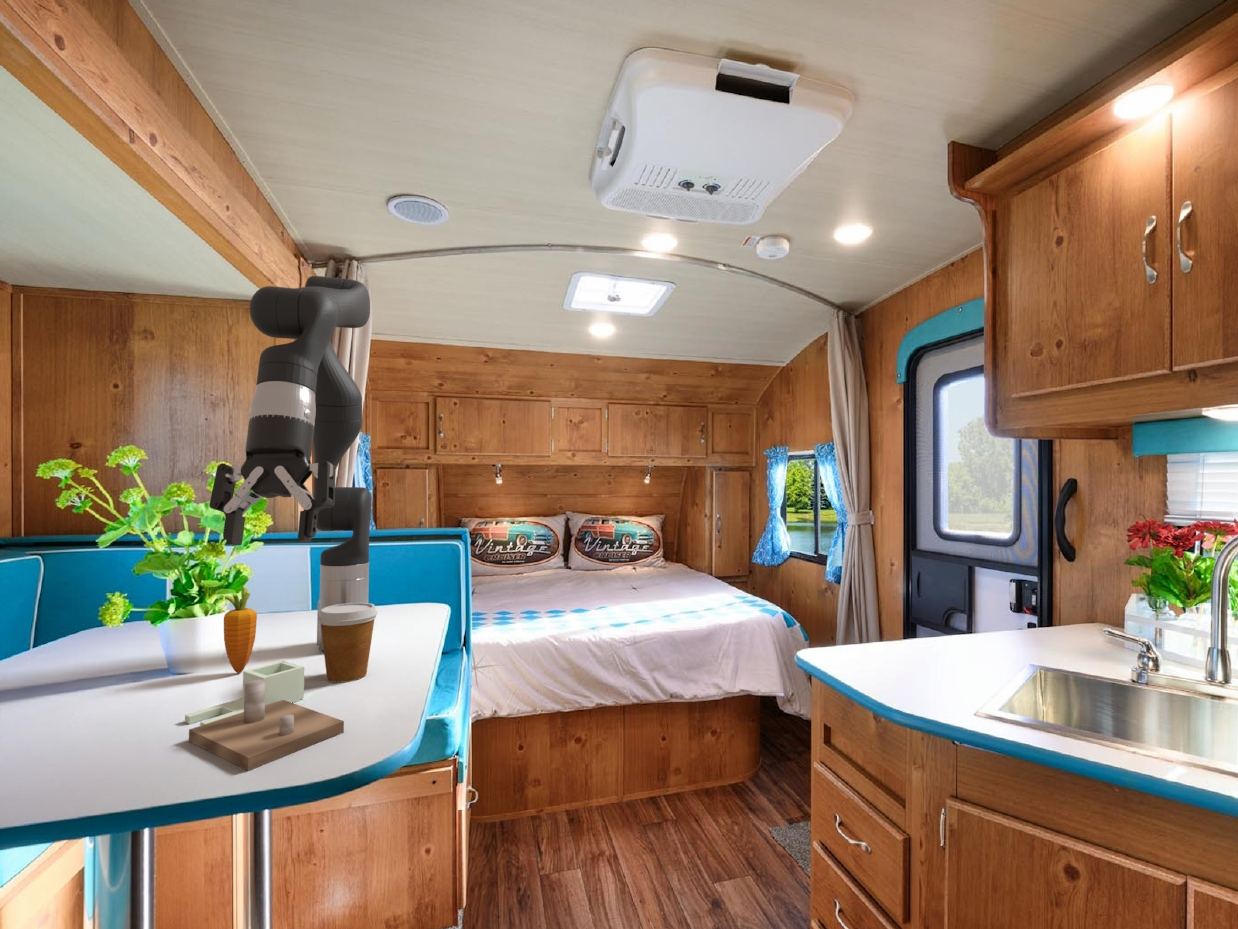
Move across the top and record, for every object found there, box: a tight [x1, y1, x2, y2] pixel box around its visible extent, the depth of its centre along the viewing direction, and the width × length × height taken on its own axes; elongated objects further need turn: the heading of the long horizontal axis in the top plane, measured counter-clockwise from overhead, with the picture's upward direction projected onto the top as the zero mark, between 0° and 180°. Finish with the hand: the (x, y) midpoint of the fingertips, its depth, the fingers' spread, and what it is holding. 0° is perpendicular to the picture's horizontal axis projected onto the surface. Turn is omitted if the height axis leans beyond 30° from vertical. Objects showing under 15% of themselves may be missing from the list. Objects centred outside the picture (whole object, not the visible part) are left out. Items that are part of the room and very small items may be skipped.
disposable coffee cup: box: [318, 602, 378, 683], centre depth 99 cm, size 10×10×12 cm
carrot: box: [223, 587, 258, 675], centre depth 100 cm, size 5×5×15 cm
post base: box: [188, 680, 345, 772], centre depth 75 cm, size 15×12×6 cm
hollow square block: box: [184, 660, 305, 726], centre depth 84 cm, size 14×6×5 cm, turn 149°
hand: (269, 543), depth 71 cm, fingers open, 8 cm apart
